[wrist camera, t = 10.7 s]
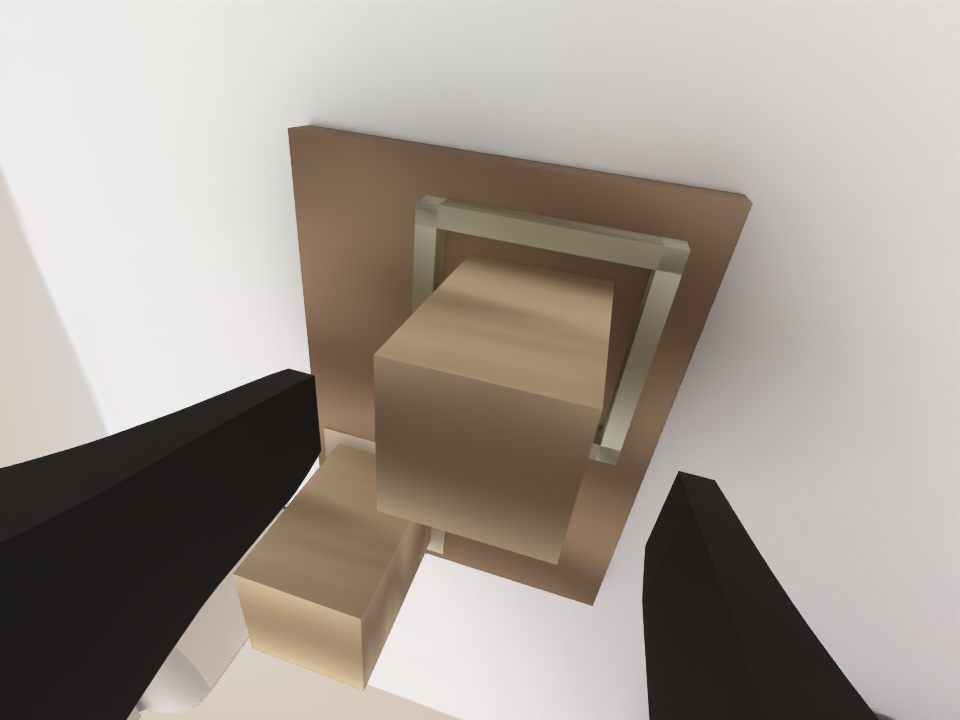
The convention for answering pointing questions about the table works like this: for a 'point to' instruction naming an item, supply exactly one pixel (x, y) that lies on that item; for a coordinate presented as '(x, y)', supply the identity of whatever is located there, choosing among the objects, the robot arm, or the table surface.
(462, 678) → the table surface
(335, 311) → the board
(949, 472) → the table surface
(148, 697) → the eye dropper bottle
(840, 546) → the table surface
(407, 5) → the table surface
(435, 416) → the maple peg
